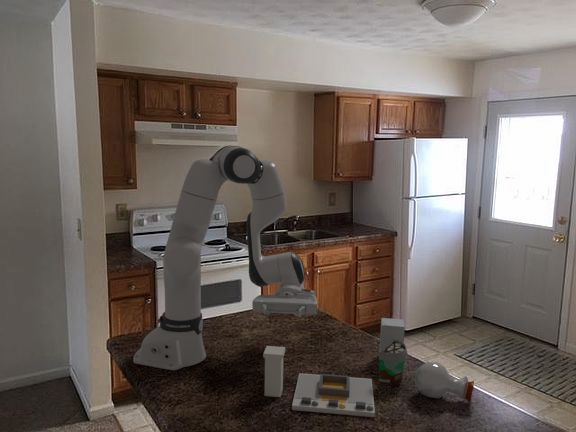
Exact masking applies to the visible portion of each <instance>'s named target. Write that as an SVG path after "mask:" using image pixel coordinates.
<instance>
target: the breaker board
mask: <svg viewBox="0 0 576 432" xmlns="http://www.w3.org/2000/svg"><path fill="white" fill-rule="evenodd" d="M295 387H296V388H295V391H294V396H293V400H292V403H291V410H292V411H301V412H313V413H323V414H324V413H325V414H335V415H348V416H356V417H368V418H369V417H370V418H375V417H376V411H375V409H376V408H375V400H374V390H373V379H372V378H364V377H350V376H349V375H340V374H326V373H320V374H315V373H313V374H312V373H301V372H299V373H298V377H297V382H296V385H295Z"/></svg>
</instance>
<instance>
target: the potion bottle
mask: <svg viewBox="0 0 576 432" xmlns="http://www.w3.org/2000/svg"><path fill="white" fill-rule="evenodd" d="M414 379H415V380H414V381H415V386H416V387H417V389H418V390H419V392H420V393H421V394H422V395H424V396H425V397H428V398H429V399H441V398H442V397H443V396H445V394H450V395H454V396H455V397H457V398H458V400H459V401H460V402H461V403H462V402H463V401H464V400H465V401H467V403H468V404H470V403H471V401H472V395H473V392H474V385H475V380H471V381H469V378H468V377H467V376H463V377H461V378H457V377H453V376H451V375H450V373H449V371H448V370H447V368H446V367H445V366H444V365H442V364H440V363H439V362H437V361H435V362H434V361H431V362H430V361H429V362H428V361H427V362H425V363H423V364H421V365H420V366H419V367H418V369H417V370H416V372H415V374H414Z"/></svg>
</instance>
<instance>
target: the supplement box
mask: <svg viewBox="0 0 576 432" xmlns="http://www.w3.org/2000/svg"><path fill="white" fill-rule="evenodd" d="M380 320H381V321H380V335H379V336H380V337H379V353H378V355H379V354H380V352H384V350H385V349H386V348H387V347H388V346H389V345H391V344H392V343H393V339H395V340H398V341H400V342H402V343H404V344H405V328H406V325H405V321H404V319H403V318H402V319H399V318H388V317H386V318H385V317H381V318H380Z"/></svg>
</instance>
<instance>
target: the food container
mask: <svg viewBox="0 0 576 432" xmlns="http://www.w3.org/2000/svg"><path fill="white" fill-rule="evenodd" d="M407 357H408V347H407V346H406V344H405V342H404V343H402V342H400V341H398V340H395V339H393V343H392V344H391V345H389V346H388V347H387V348H386V349H385V350H384V352H380V354H379V353H378V360H379V364H378V365H379V370H378V371H379V372H378V373H379V374H378V376H379V377H378V379H379V380H378V381H379V382H378V384H380V385H383V386H395V385H399V384H401V383H402V381H403V377H404V376H403V375H404V368H405V360H406V358H407Z"/></svg>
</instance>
